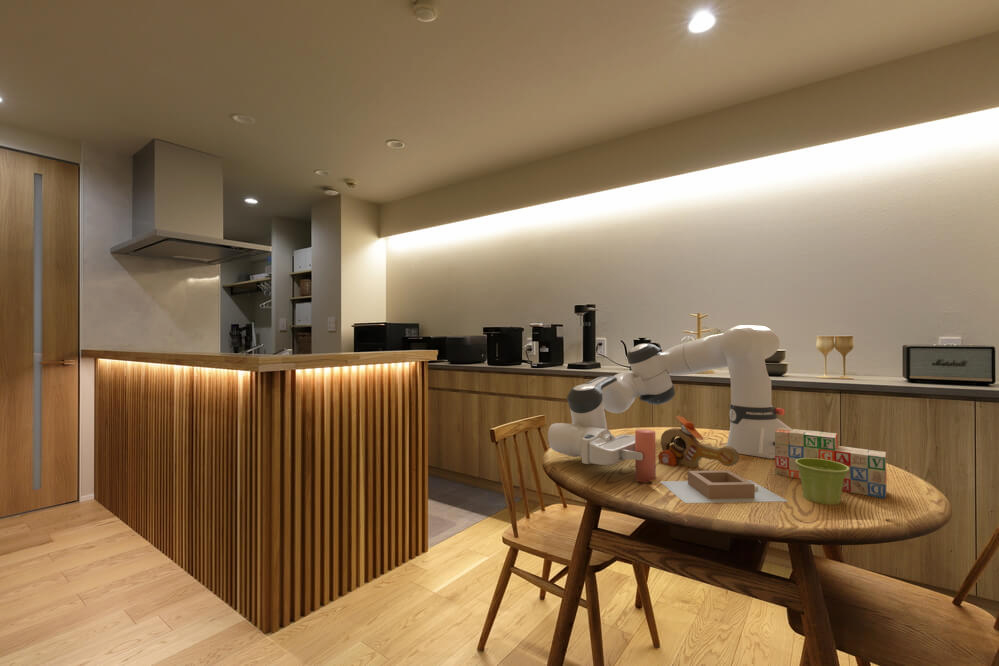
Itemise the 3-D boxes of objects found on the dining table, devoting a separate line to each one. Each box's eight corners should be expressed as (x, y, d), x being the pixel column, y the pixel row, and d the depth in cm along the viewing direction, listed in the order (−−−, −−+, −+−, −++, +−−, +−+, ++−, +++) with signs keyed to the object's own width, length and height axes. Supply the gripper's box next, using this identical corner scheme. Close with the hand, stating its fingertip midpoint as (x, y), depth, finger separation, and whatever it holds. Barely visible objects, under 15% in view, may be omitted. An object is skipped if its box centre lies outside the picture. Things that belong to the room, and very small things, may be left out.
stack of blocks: (887, 492, 104) (886, 438, 104) (886, 499, 100) (885, 443, 100) (779, 473, 119) (779, 426, 119) (774, 479, 114) (774, 430, 114)
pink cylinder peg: (651, 476, 115) (651, 429, 115) (658, 482, 110) (658, 433, 110) (632, 476, 115) (632, 429, 115) (639, 483, 110) (638, 433, 110)
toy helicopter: (670, 460, 131) (670, 412, 131) (745, 478, 115) (745, 424, 115) (654, 465, 126) (653, 416, 126) (730, 485, 110) (729, 428, 110)
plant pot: (853, 504, 97) (852, 463, 97) (845, 517, 90) (844, 473, 90) (801, 493, 103) (801, 455, 103) (790, 504, 97) (790, 464, 97)
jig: (749, 484, 109) (749, 467, 109) (788, 506, 95) (788, 486, 95) (659, 486, 109) (659, 468, 109) (685, 508, 95) (685, 488, 95)
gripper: (618, 449, 129) (666, 458, 120) (578, 464, 114) (629, 476, 105) (618, 427, 129) (666, 434, 120) (578, 439, 114) (629, 448, 105)
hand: (648, 453), depth 112 cm, fingers closed on pink cylinder peg, 5 cm apart
